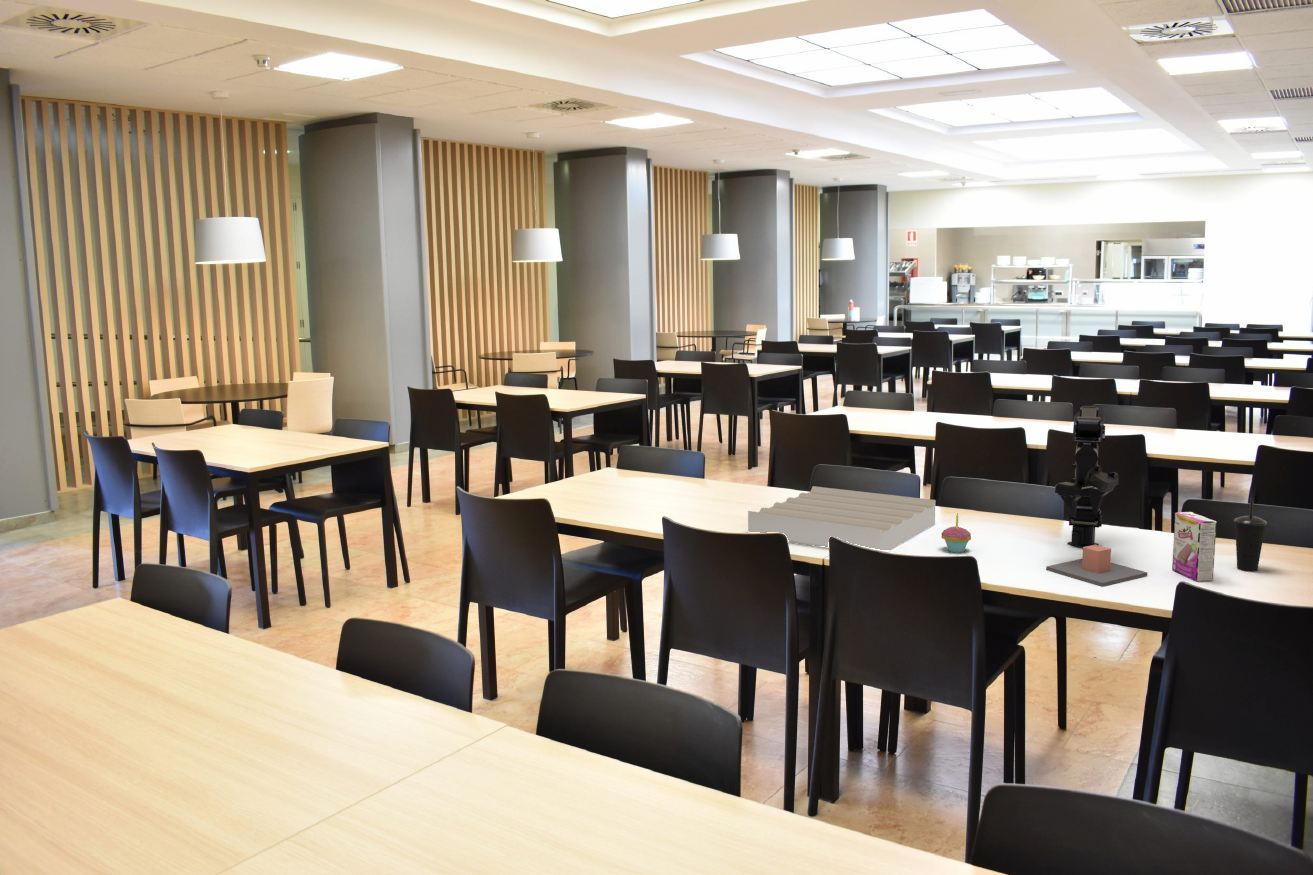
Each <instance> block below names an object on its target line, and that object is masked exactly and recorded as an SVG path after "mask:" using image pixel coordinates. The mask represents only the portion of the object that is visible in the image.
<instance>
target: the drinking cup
mask: <svg viewBox="0 0 1313 875" xmlns="http://www.w3.org/2000/svg"><path fill="white" fill-rule="evenodd" d="M1254 500H1255V499H1254V497H1250V500H1249V501H1250V502H1249V515H1242V516H1239V517H1235V518H1234V519H1233V521H1234V523H1235V526H1234V527H1235V550H1236V568H1237V569H1238V570H1239V571H1243V572H1258V570H1259V562H1260V558H1261V552H1262V547H1263V541H1264V535H1265V530H1266V526H1267V524H1268V522H1267V520H1265V519H1263V518H1261V517H1258V516H1255V515H1253V510H1254V509H1253V508H1254Z"/></svg>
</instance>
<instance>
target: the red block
mask: <svg viewBox="0 0 1313 875" xmlns="http://www.w3.org/2000/svg"><path fill="white" fill-rule="evenodd" d="M1111 558H1112V549H1111V547H1106V546H1103V545H1100V544H1099V545H1091V546H1086V547H1083V548H1082V558H1081V559H1082V569H1086V570H1089V571H1093V572H1096V573H1099V572H1104V571H1108V570H1110V562H1111V561H1112V560H1111Z"/></svg>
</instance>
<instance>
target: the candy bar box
mask: <svg viewBox="0 0 1313 875" xmlns="http://www.w3.org/2000/svg"><path fill="white" fill-rule="evenodd" d="M1217 523H1218V521H1216V520H1213V519H1211V518H1208V517H1206V516H1203V515H1200V514H1198V513H1195V512H1193V511H1182V512H1181V511H1177V512H1174V526H1173V527H1174V528H1173V545H1172V546H1173V548H1172V549H1173V550H1172V565H1171V566H1172V567H1171V570H1172V571H1174V572H1176V573H1178V574H1180V575H1182V576H1184V577H1185V578H1188V579H1191V580H1193V582H1199V583H1200V582H1202V583H1203V582H1211V581H1212V582H1213V581H1214V571H1215V570H1214V568H1215V556H1216V555H1215V554H1216V539H1217V538H1216V537H1217V536H1216V535H1217Z"/></svg>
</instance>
